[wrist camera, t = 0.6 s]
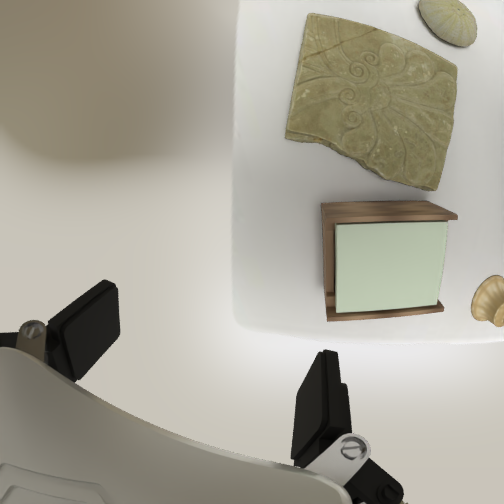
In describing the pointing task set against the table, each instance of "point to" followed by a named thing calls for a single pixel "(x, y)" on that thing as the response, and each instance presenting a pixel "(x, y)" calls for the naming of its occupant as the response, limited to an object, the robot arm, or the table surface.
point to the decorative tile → (374, 100)
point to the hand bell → (489, 301)
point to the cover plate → (388, 264)
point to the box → (371, 213)
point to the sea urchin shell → (450, 21)
